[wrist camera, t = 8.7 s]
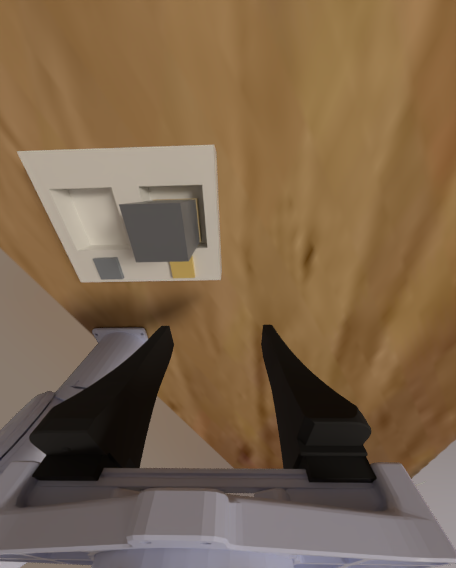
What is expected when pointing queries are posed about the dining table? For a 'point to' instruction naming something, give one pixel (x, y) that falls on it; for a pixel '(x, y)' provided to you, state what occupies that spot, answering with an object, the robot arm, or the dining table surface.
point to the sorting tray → (121, 190)
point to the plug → (163, 229)
